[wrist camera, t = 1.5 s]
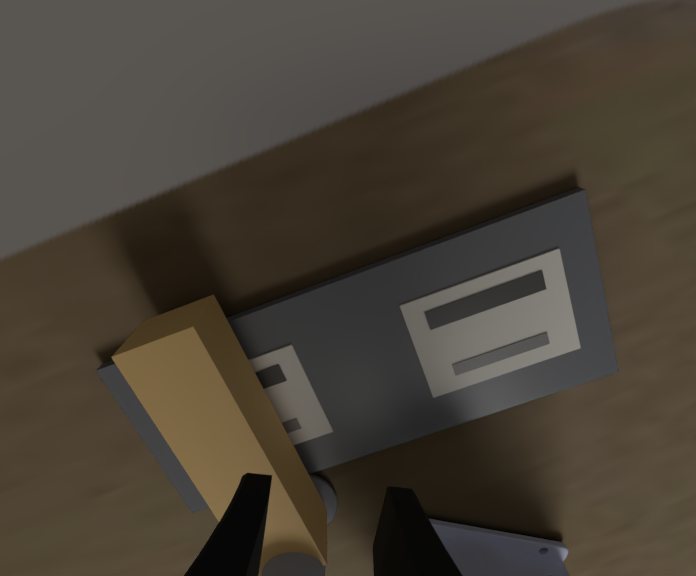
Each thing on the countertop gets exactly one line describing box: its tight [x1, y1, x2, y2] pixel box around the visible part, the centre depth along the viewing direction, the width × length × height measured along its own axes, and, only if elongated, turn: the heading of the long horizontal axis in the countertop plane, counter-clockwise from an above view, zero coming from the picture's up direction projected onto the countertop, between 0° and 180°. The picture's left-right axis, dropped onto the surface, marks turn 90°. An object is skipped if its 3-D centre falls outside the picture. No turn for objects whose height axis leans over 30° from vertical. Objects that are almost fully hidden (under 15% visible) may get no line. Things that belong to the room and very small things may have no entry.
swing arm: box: [111, 294, 327, 576], centre depth 19 cm, size 14×3×4 cm, turn 21°
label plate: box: [96, 187, 619, 524], centre depth 22 cm, size 22×13×1 cm, turn 111°
